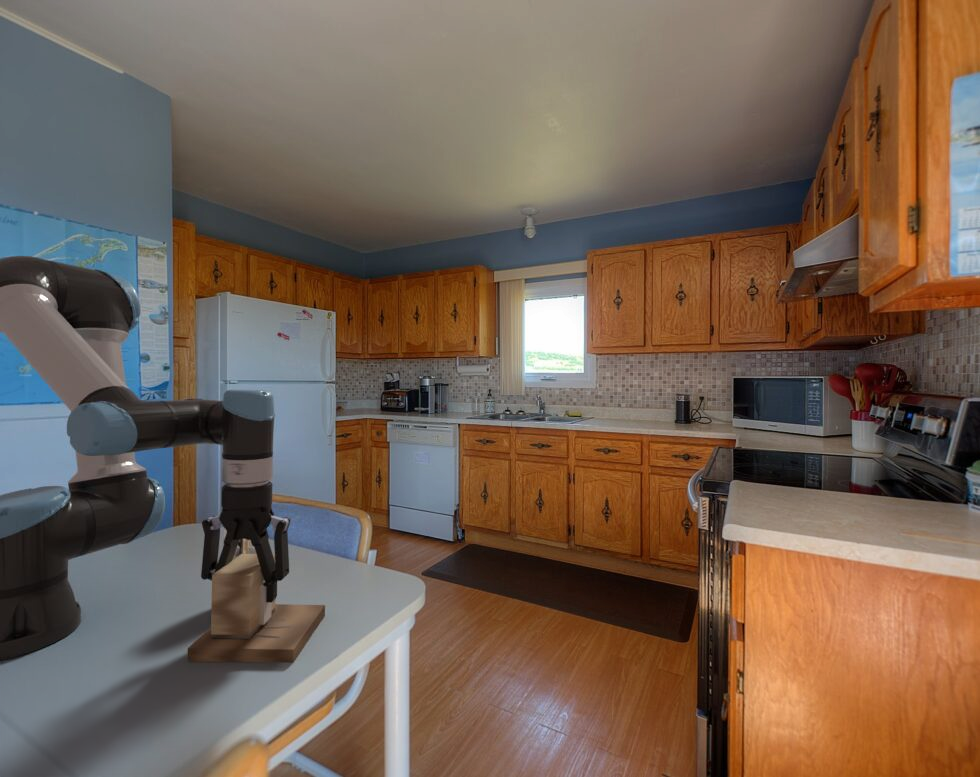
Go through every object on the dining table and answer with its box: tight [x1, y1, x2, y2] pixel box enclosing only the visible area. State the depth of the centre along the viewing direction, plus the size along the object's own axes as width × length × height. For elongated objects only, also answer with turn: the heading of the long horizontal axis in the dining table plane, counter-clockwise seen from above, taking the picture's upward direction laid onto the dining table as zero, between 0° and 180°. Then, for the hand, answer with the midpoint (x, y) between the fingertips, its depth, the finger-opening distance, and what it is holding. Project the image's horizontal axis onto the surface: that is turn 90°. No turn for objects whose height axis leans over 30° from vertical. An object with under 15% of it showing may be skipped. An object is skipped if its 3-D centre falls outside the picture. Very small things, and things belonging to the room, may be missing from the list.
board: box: [186, 603, 326, 664], centre depth 77 cm, size 16×14×2 cm
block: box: [210, 553, 276, 639], centre depth 77 cm, size 6×9×10 cm, turn 1°
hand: (245, 619), depth 77 cm, fingers closed on block, 6 cm apart
